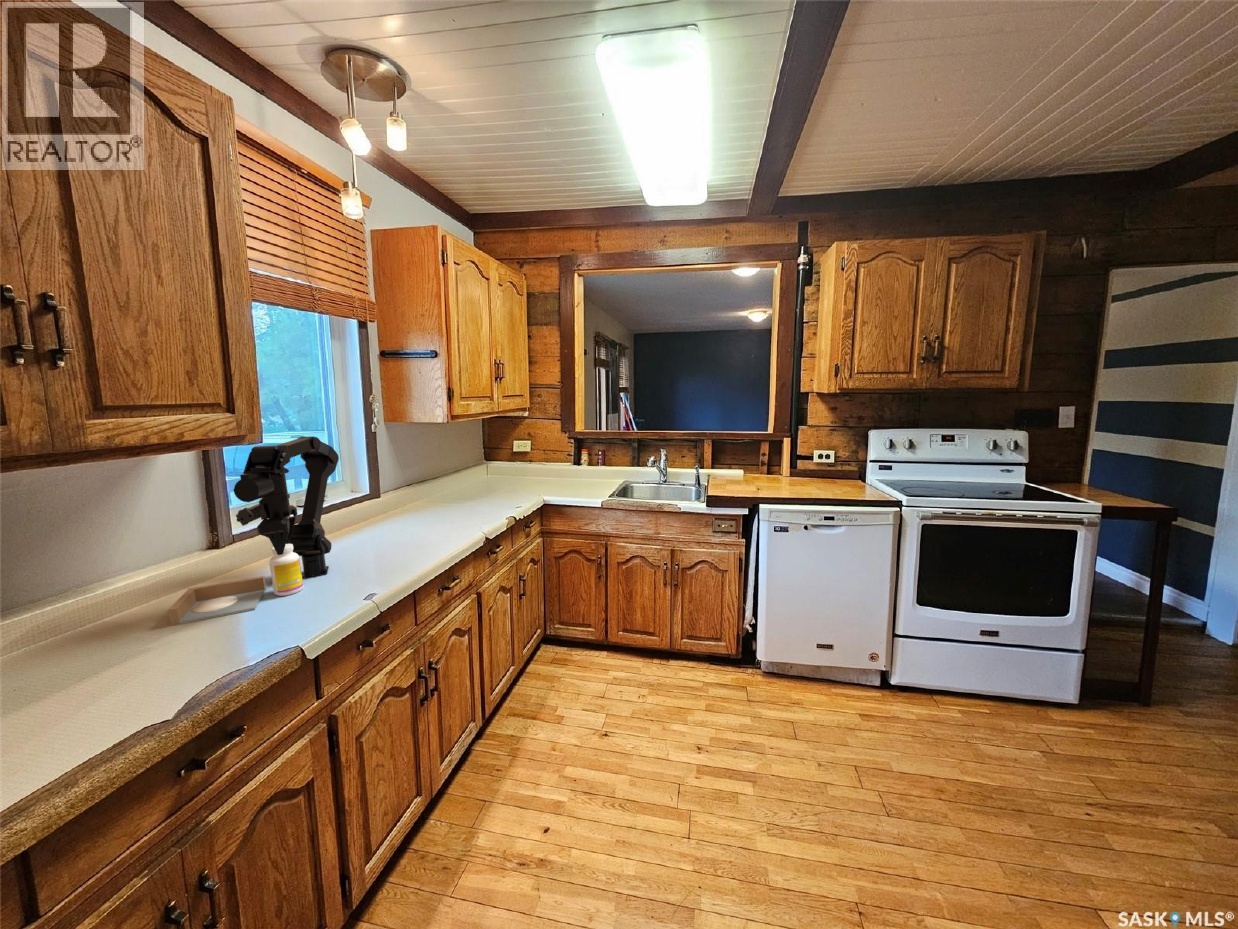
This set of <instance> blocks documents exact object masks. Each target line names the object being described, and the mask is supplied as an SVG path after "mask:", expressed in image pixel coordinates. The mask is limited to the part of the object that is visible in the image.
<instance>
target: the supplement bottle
mask: <svg viewBox="0 0 1238 929" xmlns="http://www.w3.org/2000/svg"><path fill="white" fill-rule="evenodd" d="M271 553H272V554H273V556H271V557H270V559H269V561H268V563H269V568H270V570H269V571H270V574H271V582H272V588H273V593H274V595H275V596H279V597H283V596H284V597H285V596H290V595H294V594H296V593H299V592H301V591H302V590H303V589H304V580H303V578H302V573H303V572H302V568H301V561H300V556H299V555H298V554H297V553H294V552H293V544H286V545H285V549H284V552H283V554H282V555H278V554H277V552H276V550H275V549H274V547H272V548H271Z"/></svg>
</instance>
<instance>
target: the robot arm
mask: <svg viewBox="0 0 1238 929" xmlns="http://www.w3.org/2000/svg"><path fill="white" fill-rule="evenodd" d="M250 450H251V451H250V452H249V454H248V457H247V461H246V463H245V466H244V470H243V472H242V474H240V476H239V477H240V479H239V480H238V481H237V482H236V483H235V484H234V486H233V494H234V496H235V497H236V498H237V499H238V500H239V501H241V502H244V503H252V502H253V501H256V500H257V501H258V503H257V504H254V505H253V506H251V507H244V508H243V509H239V510H238V511H237V513H236V515H235V517H236V521H237V523H238V522H239V523H240V525H241V526H242V527H244V526H246V525H248V524H249V523H252V522H253V521H257V520H258V519H260V520H261V522H259V524H258V525H257V526H256V529H257V533H258V534H259V535H260V536H263V537H266V538H268V540H270V543H271V546H273V547H274V549H275V550H276V552H277V554H278V555H282V554H283V552H284V549H285V545H286V544H293V552H294V553H297V554H298V555H299V557H301V563H302V569H303V570H302V572H301V573H302V579H307V578H311V577H317V576H324V575H327V574H328V573H329V565H327V564H326V556H325V555H326V554H329V553H331V550H332V542H331V541H330V540H329V539H328V538H327V537H326V536H325V534H326V532H325V529H324V527H323V526H322V523H321V520H322V516H323V515H322V514H323V509H324V508H323V507H324V502H325V496H326V492H327V484H328V480H329V478H330V476H332V474H334V472H335V471H336V468H337V465H338V463H339V460H340V457H339V454H338V453H337V451H336V450H335V448H333V446H331V445H330V444H327V443H325V442H324V441H321V440H320V438H319V437H317V436H300V437H297V438H296V439H293V440H290V441H287V442H282V443H280V444H277V445H257V446H254V447H252V448H251V449H250ZM299 455H300V457H299V458H300V459H301V460H303V462H305V463H304V467H305V468H306V471H307V473H308V481H307V487H306V491H305V496H304V500H303V507H302V513H301V518H300V521H299V522H298V523H297V524H296V520H297V516H298V510H297V507H296V506H295V505H293V504H290V497H291V495H290V493H289V492H288V486H287V485H288V484H287V478H286V474H288V473H290V470H289V469H288V468H286V467H285V466H286V465H287V464H290V462H291V459H292V458H294V457H297V456H299ZM292 515H293V516H292ZM273 547H272V548H273Z"/></svg>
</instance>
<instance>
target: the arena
mask: <svg viewBox="0 0 1238 929" xmlns="http://www.w3.org/2000/svg"><path fill="white" fill-rule="evenodd" d="M266 591H267V587H266V581H265V575H261V576H255V577H250V578H244V579H238V580H237V579H236V580H232V581H226V582H225V581H224V582H220V583H213V584H206V585H202V586H196V587H190V588H188V589H186V591H185V592H184V593H183V594H182V595H181V596H180V597H179V598H178V599H177V600H176V601H175V602H174V603H173V604H172V606H171V607H169V608H168V614H169V620H170V625H171V627H172V626H177V625H182V624H187V623H194V622H198V621H203V620H208V619H213V618H218V617H219V618H220V617H225V616H229V615H234V614H236V615H237V614H239V613H245V612H251V611H255V610H256V608H257V607H258V605H259V603H260V601H261V600H262V598H263V596H264V594H265V592H266Z"/></svg>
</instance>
